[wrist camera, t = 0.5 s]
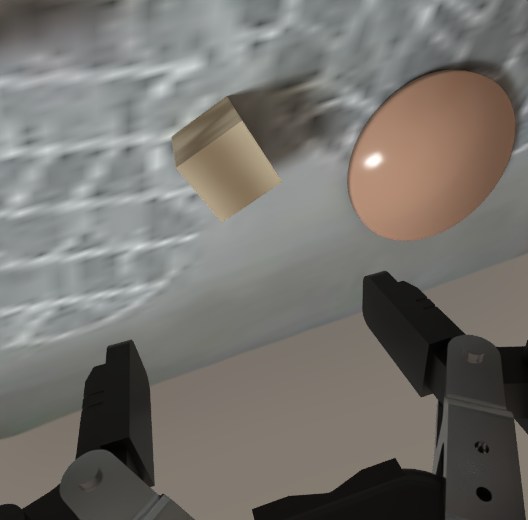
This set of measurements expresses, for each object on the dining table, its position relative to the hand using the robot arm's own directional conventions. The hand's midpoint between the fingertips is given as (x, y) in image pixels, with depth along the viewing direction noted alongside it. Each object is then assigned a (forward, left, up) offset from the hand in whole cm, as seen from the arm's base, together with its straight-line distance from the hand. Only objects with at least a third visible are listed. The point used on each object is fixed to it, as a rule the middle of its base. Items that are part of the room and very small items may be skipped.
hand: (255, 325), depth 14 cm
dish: (-15, +14, -21) cm, 29 cm away
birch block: (-1, +2, -21) cm, 21 cm away
